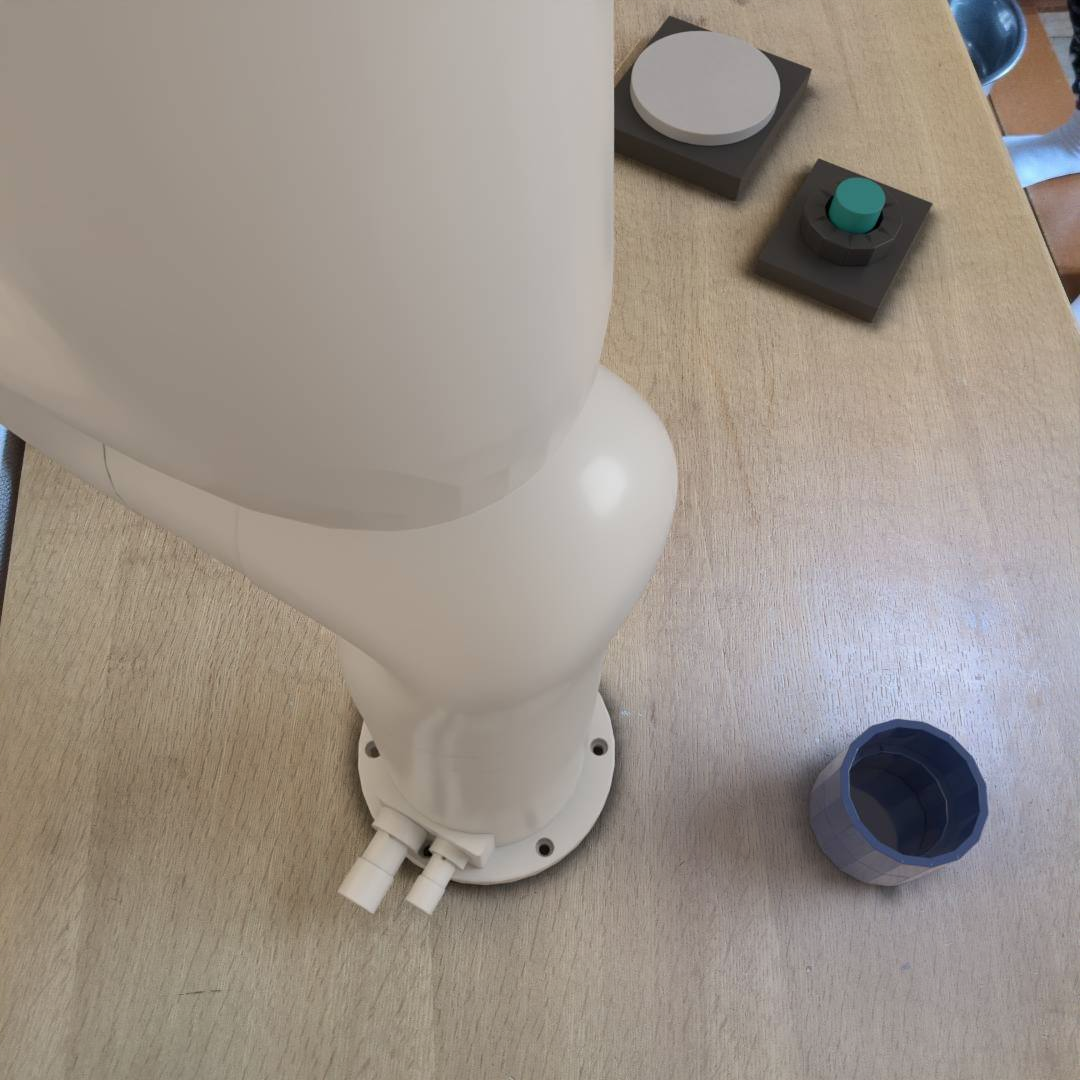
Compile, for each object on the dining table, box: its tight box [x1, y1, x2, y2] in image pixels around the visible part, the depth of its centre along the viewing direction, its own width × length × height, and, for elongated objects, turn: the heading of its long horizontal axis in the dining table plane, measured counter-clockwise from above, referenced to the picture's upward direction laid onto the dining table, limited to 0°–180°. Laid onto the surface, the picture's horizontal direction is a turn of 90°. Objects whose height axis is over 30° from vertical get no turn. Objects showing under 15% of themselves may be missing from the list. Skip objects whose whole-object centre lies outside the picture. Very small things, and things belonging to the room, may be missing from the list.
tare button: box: [829, 178, 885, 234], centre depth 64 cm, size 3×3×2 cm
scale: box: [614, 15, 813, 202], centre depth 70 cm, size 12×11×3 cm
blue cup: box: [809, 718, 990, 887], centre depth 48 cm, size 6×6×6 cm
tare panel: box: [753, 157, 933, 324], centre depth 65 cm, size 10×8×3 cm
